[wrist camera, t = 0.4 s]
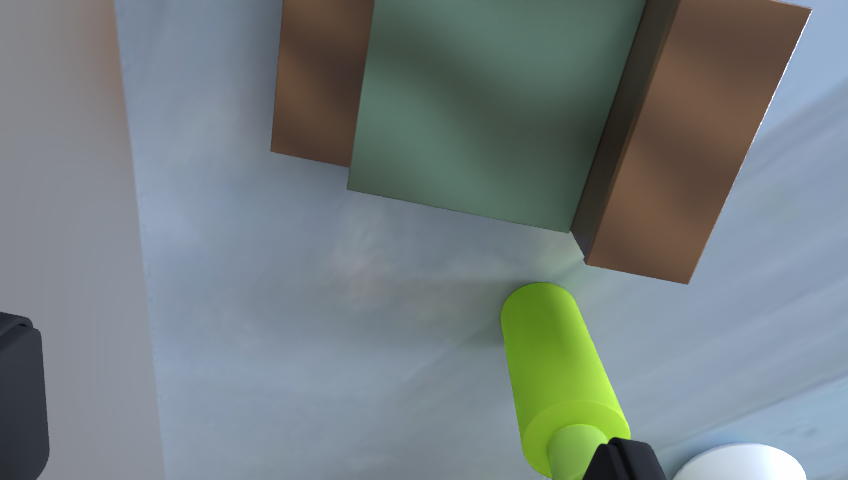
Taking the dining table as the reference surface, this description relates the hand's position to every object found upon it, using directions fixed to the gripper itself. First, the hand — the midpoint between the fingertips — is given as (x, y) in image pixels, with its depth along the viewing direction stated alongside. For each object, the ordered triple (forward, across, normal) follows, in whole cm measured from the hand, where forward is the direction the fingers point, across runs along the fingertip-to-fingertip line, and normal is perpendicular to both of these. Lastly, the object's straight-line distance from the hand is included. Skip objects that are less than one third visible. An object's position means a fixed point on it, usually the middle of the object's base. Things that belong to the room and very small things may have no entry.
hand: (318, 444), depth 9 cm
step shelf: (+29, -4, -3) cm, 30 cm away
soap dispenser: (+30, -13, +13) cm, 35 cm away
